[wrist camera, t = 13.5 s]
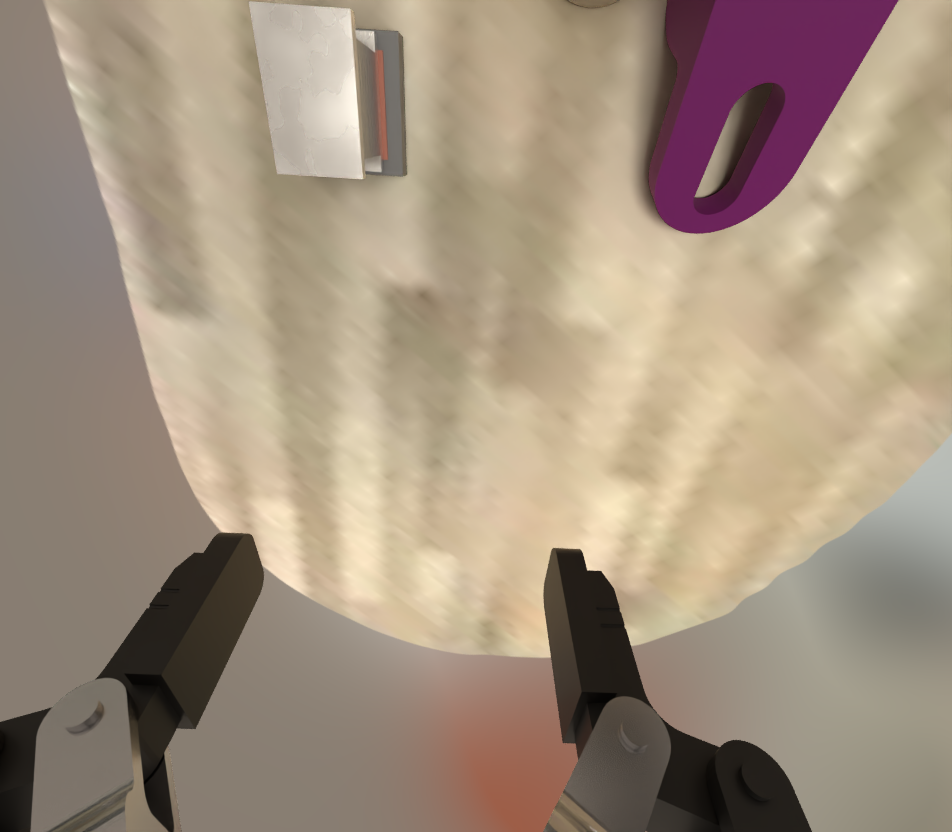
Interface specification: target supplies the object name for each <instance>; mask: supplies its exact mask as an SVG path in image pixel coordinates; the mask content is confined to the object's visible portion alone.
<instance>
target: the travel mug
mask: <svg viewBox="0 0 952 832" xmlns="http://www.w3.org/2000/svg"><path fill="white" fill-rule="evenodd" d="M568 1H570V2H572V3H574V4H576V5H579V6H582V7H589V8H596V7H603V6H607V5H610V4H613V3H615V2H617V1H619V0H568Z"/></svg>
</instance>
